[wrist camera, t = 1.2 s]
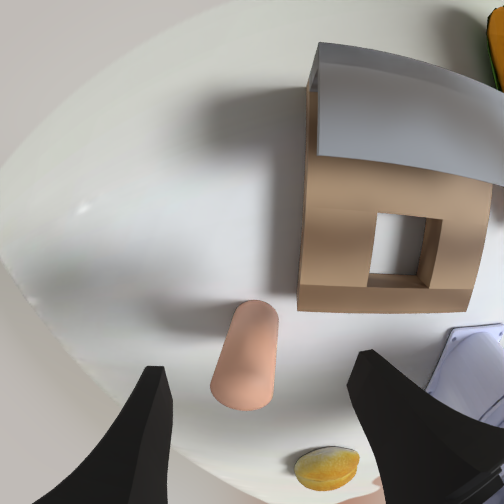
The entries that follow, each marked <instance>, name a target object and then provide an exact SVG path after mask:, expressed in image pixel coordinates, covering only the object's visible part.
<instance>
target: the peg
mask: <svg viewBox="0 0 504 504" xmlns="http://www.w3.org/2000/svg"><path fill="white" fill-rule="evenodd" d="M278 323H279V318H278V314H277V312H276V311H275V309H274V308H273V307H272V306H271V305H269V304H268V303H266V302H263V301H259V300H250V301H247V302H244V303H242V304H241V305H239V306H238V307H237V309H236V310H235V313H234V315H233V318H232V321H231V324H230V327H229V330H228V333H227V336H226V339H225V342H224V345H223V348H222V351H221V354H220V357H219V360H218V362H217V365H216V368H215V371H214V374H213V377H212V380H211V384H210V389H211V392H212V394H213V396H214V397H215V398H216V399H217V400H218V401H219V402H220V403H221V404H223V405H225V406H227V407H229V408H232V409H235V410H241V411H251V410H257V409H260V408H262V407H264V406H266V405H267V404H268V403H269V402H270V401H271V399H272V397H273V388H274V376H275V364H276V351H277V338H278Z"/></svg>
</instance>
